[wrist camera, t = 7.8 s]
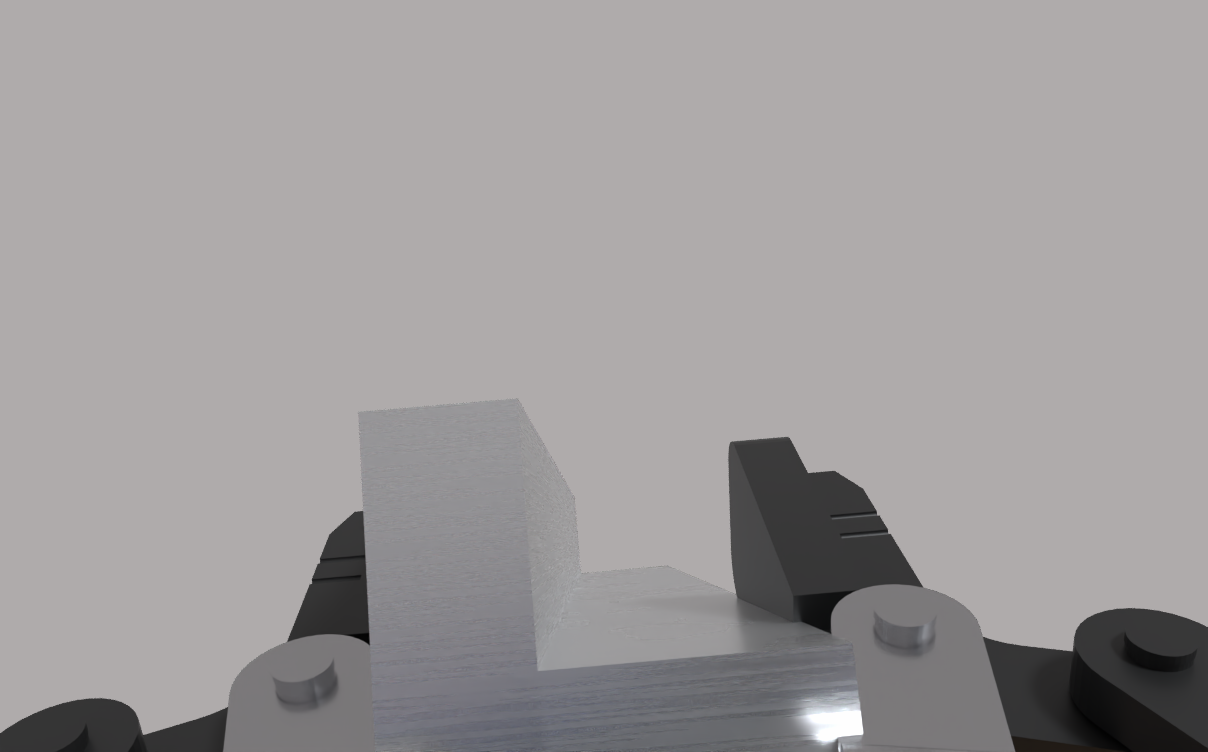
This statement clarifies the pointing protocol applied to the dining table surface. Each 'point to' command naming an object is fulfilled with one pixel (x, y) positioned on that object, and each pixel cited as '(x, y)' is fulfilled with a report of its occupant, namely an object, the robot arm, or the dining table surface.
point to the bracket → (559, 615)
